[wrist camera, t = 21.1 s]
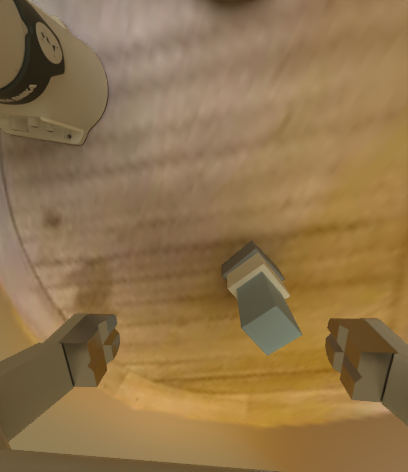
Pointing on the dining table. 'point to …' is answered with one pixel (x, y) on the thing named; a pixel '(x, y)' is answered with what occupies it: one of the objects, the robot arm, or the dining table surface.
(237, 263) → the tower base
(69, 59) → the robot arm
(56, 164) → the dining table surface
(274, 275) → the tower top
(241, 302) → the blue pillar
